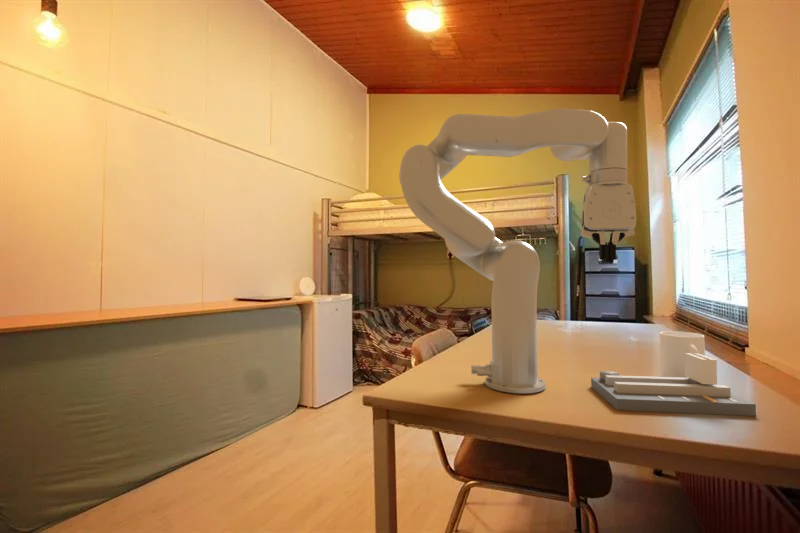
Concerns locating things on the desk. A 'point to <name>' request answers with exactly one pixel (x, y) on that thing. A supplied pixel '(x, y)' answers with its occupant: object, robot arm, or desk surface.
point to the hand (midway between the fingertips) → (607, 262)
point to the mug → (678, 351)
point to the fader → (700, 369)
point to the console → (669, 395)
